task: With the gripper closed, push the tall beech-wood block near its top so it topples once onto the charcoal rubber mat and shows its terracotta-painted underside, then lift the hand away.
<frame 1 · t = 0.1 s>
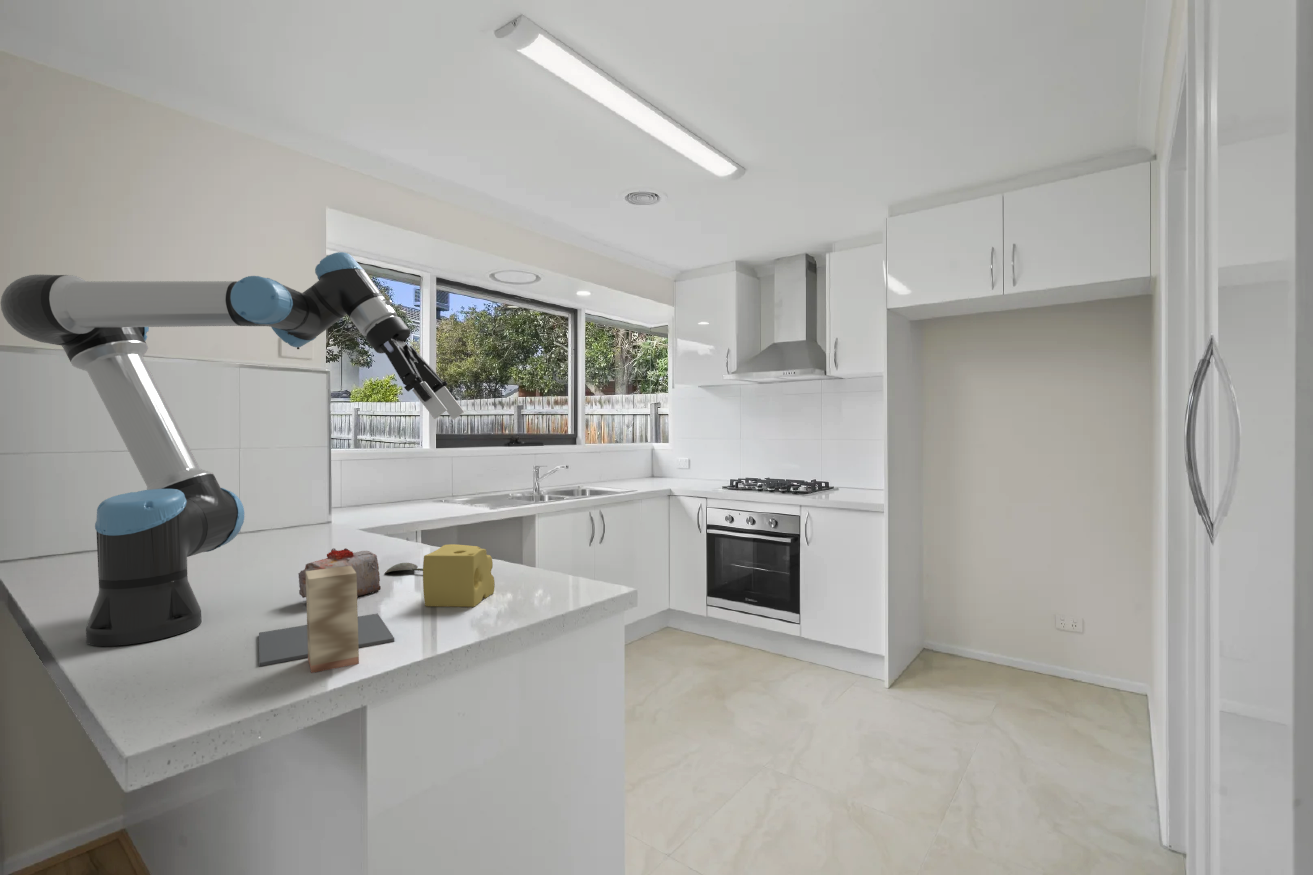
hand: (450, 415, 122), 36 cm above the worktop, tool tilted 35°, fingers open, 13 cm apart
cheese: (459, 601, 123), on the worktop
block: (333, 661, 91), on the worktop
food item: (341, 599, 126), on the worktop
mat: (325, 638, 101), on the worktop
soupspoon: (424, 578, 144), on the worktop
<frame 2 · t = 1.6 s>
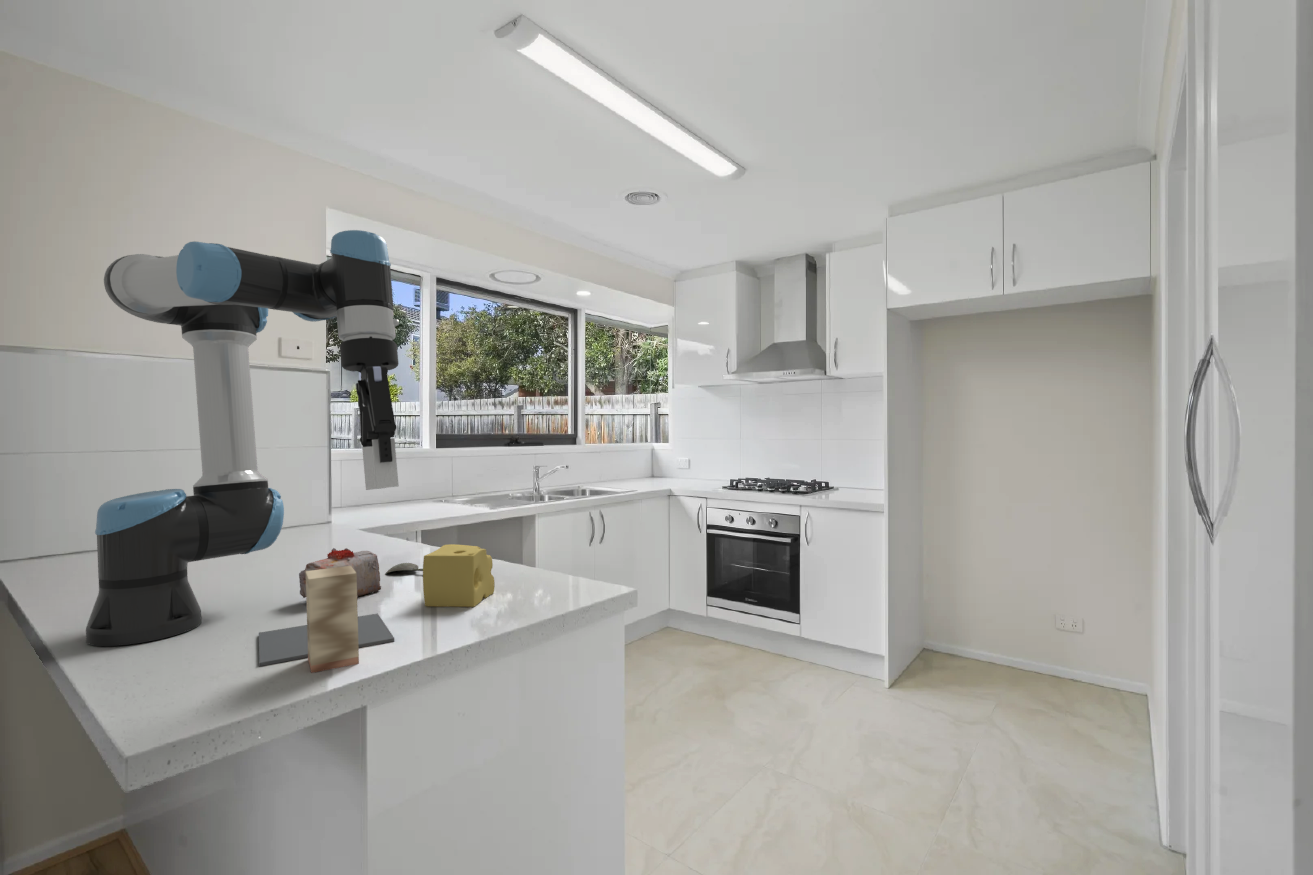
hand: (381, 488, 90), 25 cm above the worktop, tool pointing down, fingers open, 13 cm apart
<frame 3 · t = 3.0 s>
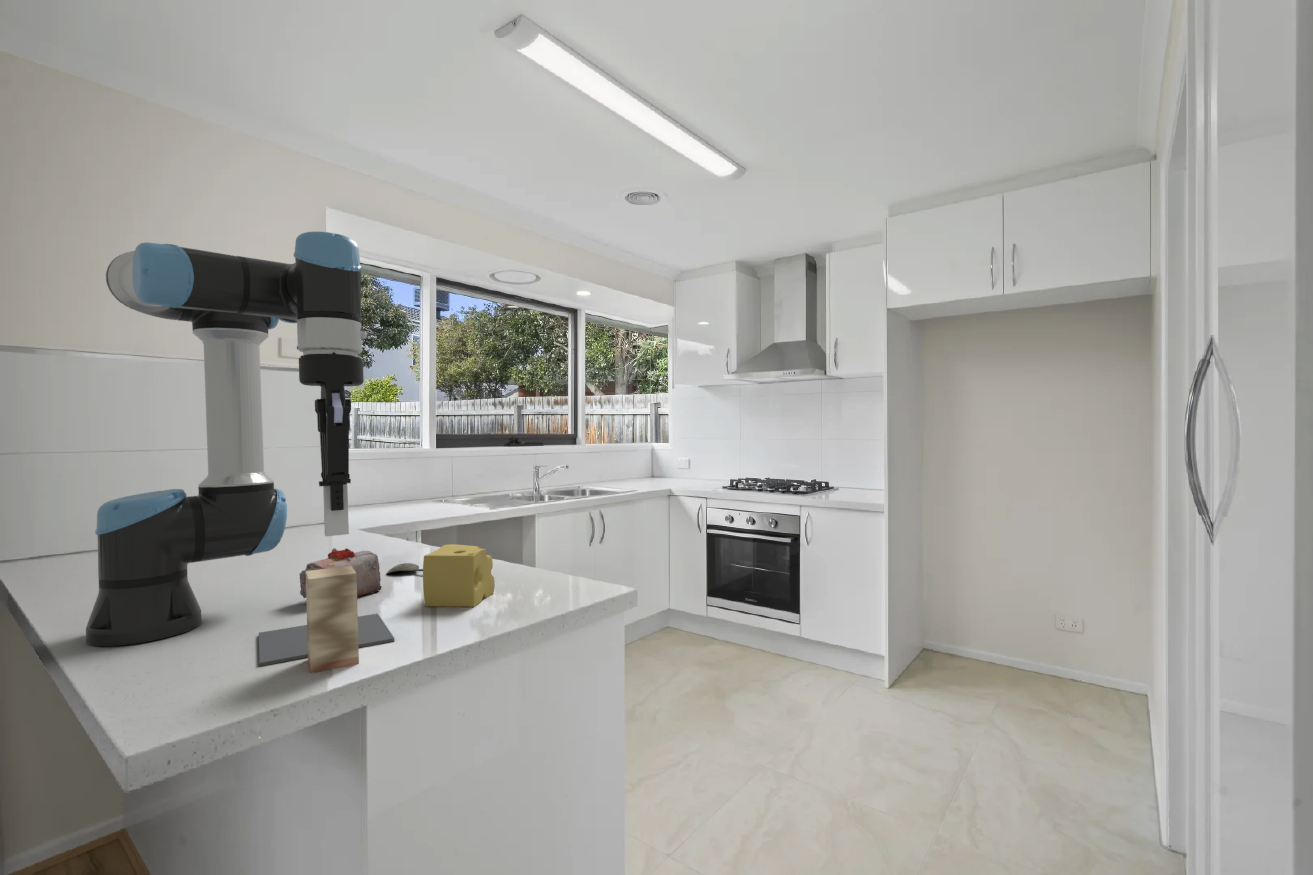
hand: (336, 534, 83), 20 cm above the worktop, tool pointing down, fingers closed
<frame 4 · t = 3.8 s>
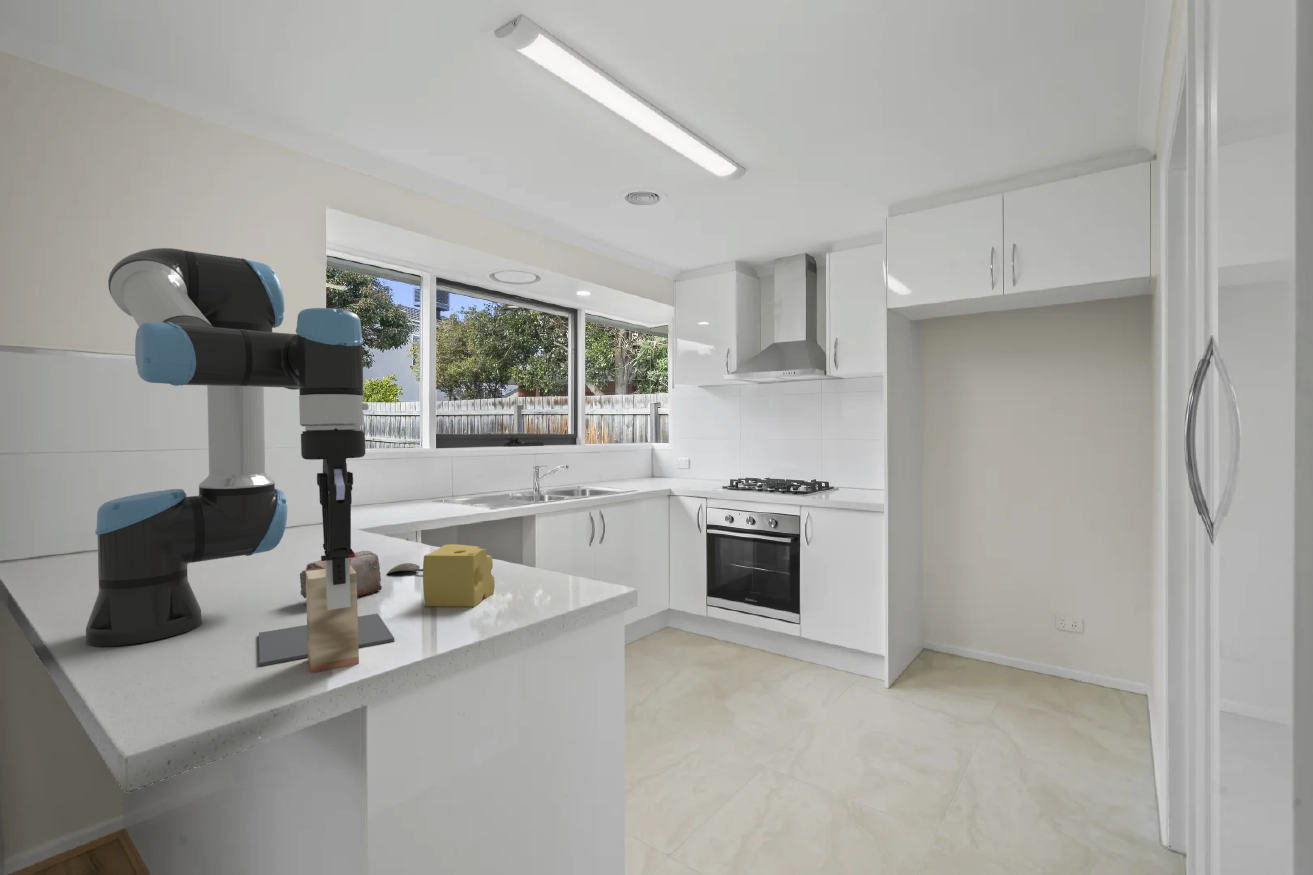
hand: (338, 606, 83), 10 cm above the worktop, tool pointing down, fingers closed
nothing on the worktop moved.
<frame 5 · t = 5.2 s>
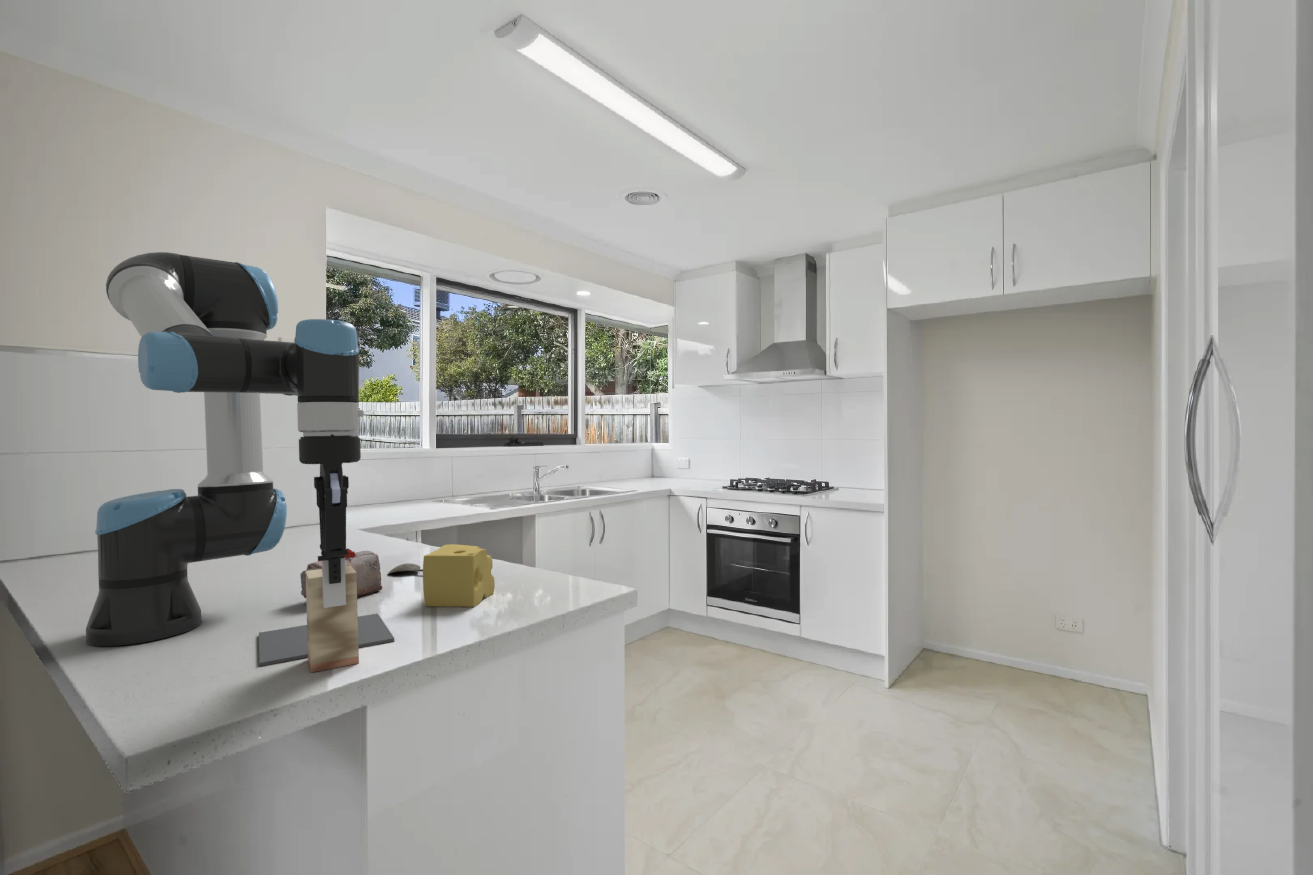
hand: (334, 605, 87), 9 cm above the worktop, tool pointing down, fingers closed
block: (333, 661, 91), on the worktop, touching gripper
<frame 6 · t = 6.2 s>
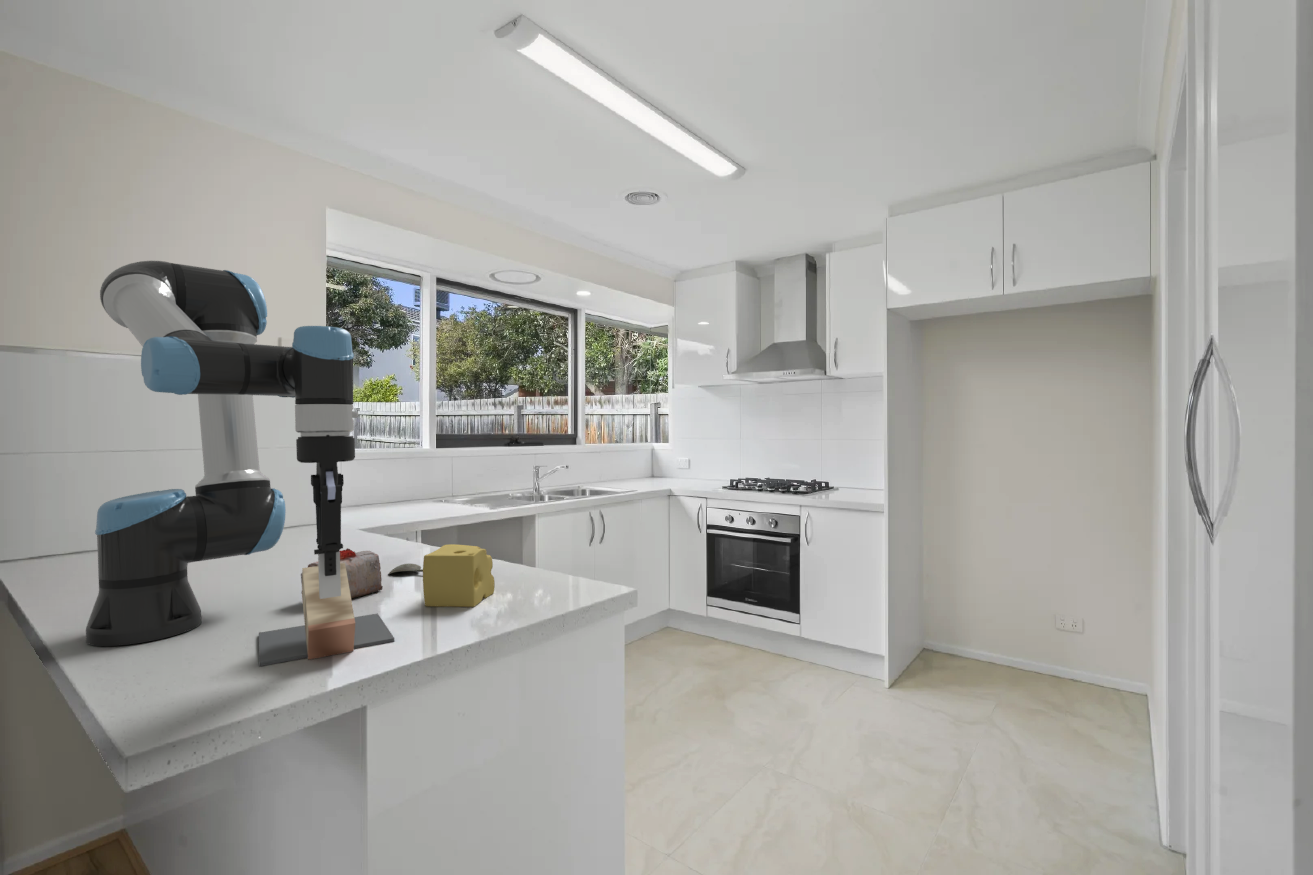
hand: (330, 596, 92), 9 cm above the worktop, tool pointing down, fingers closed
block: (331, 641, 92), point 3 cm above the worktop, tilted 58°
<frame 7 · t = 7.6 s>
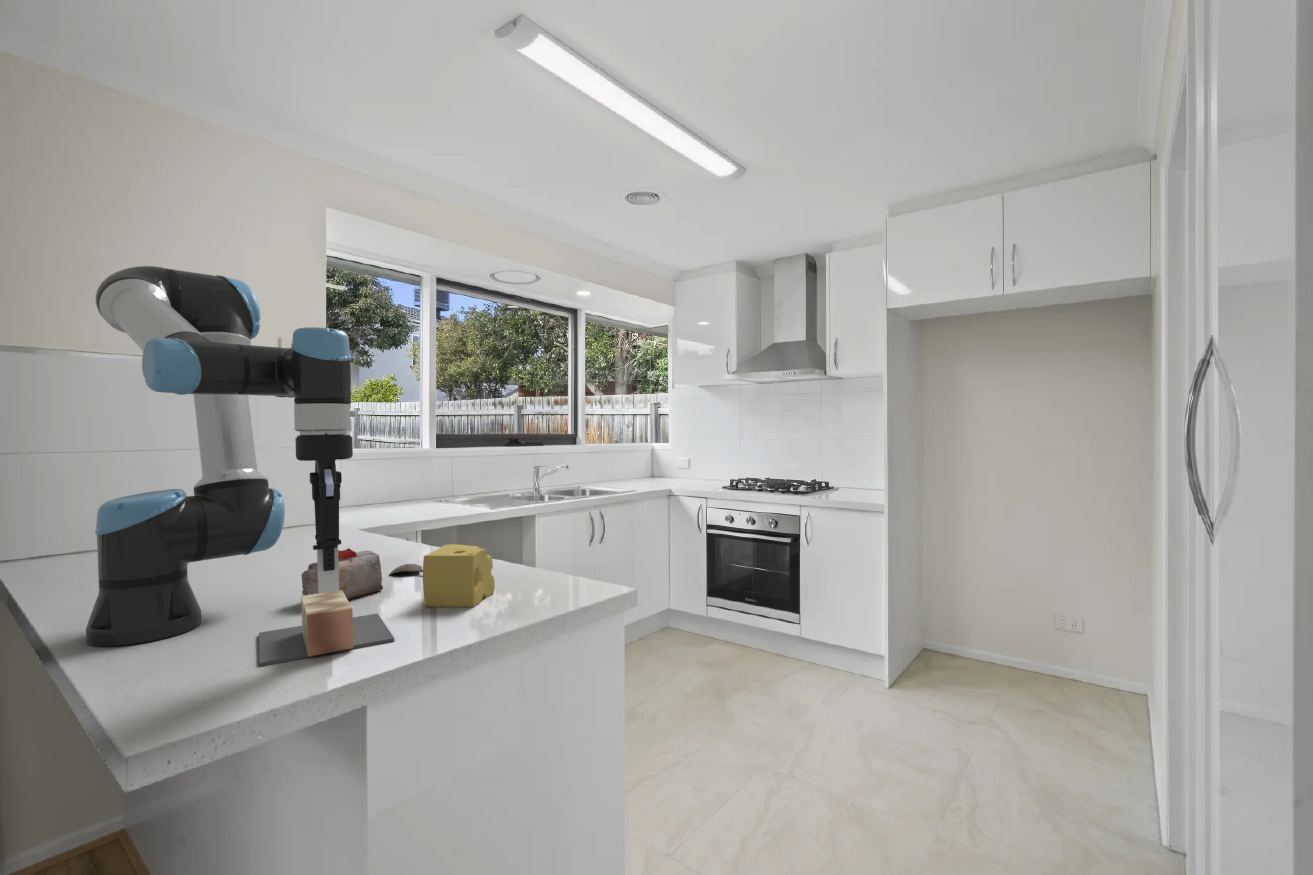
hand: (328, 590, 94), 9 cm above the worktop, tool pointing down, fingers closed
block: (330, 631, 94), point 3 cm above the worktop, tilted 90°, touching mat
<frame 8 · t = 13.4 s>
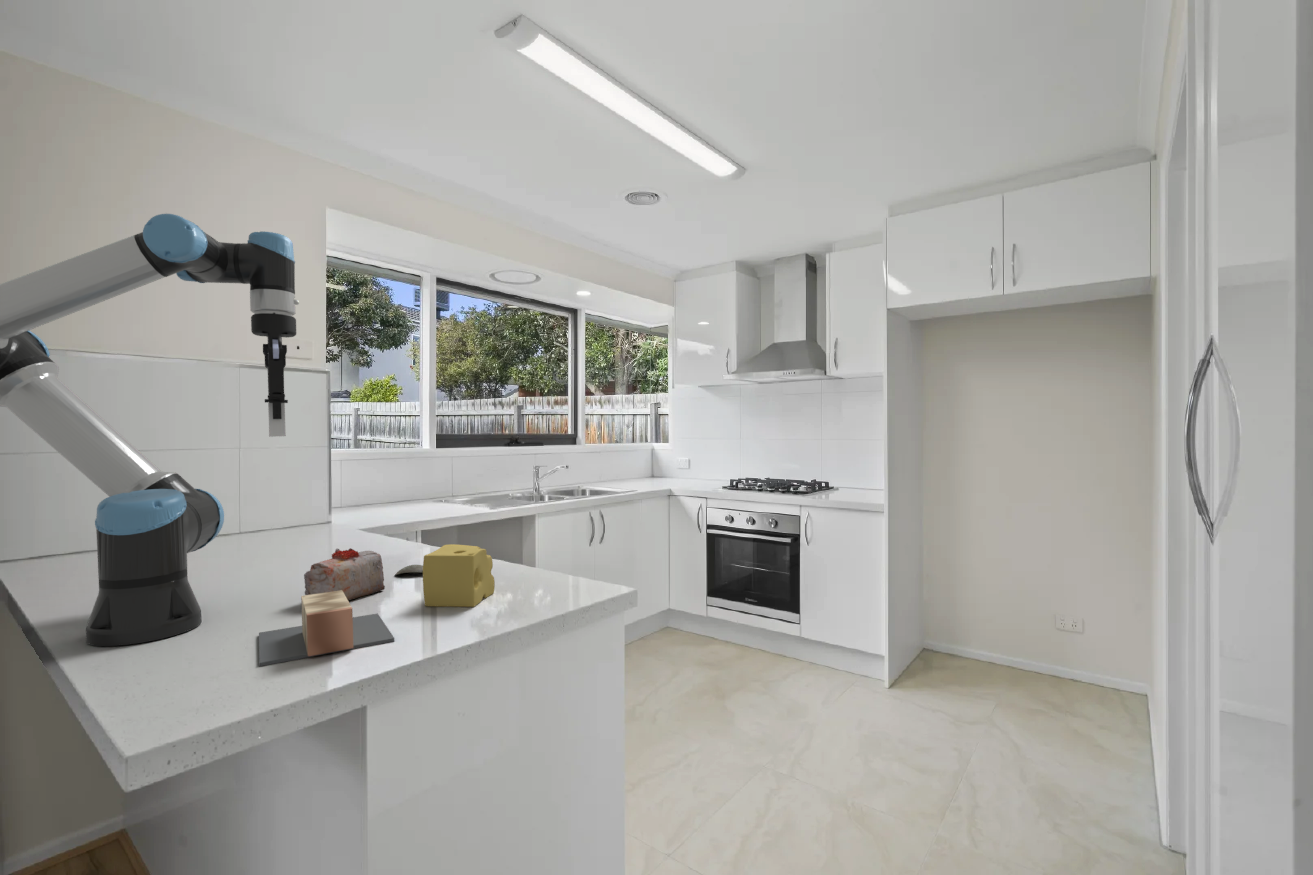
hand: (277, 436, 123), 32 cm above the worktop, tool pointing down, fingers closed
soupspoon: (433, 580, 141), on the worktop
at the end: block tilted 90°; block touching mat; block inside the target area (0.6 cm from its centre), point 3.5 cm above the worktop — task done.
